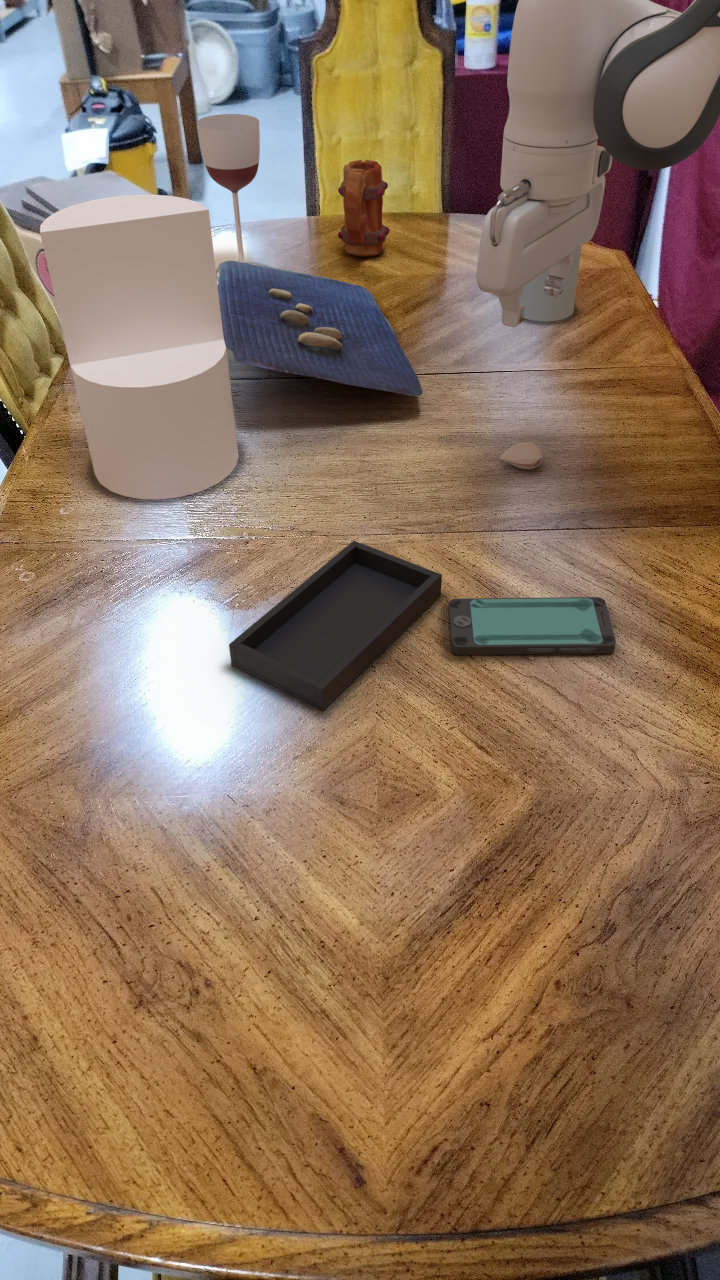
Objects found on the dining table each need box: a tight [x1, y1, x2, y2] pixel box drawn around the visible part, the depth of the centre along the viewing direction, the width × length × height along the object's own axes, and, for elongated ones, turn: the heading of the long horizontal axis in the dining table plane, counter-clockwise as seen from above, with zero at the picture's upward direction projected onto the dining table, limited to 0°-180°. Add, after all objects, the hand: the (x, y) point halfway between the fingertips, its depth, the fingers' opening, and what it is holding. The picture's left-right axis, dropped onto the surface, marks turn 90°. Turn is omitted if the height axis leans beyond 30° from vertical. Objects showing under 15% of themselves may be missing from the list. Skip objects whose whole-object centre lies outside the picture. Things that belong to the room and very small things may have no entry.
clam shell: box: [498, 442, 543, 470], centre depth 116 cm, size 4×5×2 cm
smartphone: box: [448, 596, 617, 656], centre depth 94 cm, size 7×1×15 cm
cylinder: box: [39, 194, 240, 500], centre depth 110 cm, size 17×17×28 cm
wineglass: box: [196, 113, 262, 279], centre depth 158 cm, size 9×10×23 cm
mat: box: [217, 260, 423, 397], centre depth 141 cm, size 45×27×12 cm, turn 10°
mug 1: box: [337, 159, 391, 257], centre depth 165 cm, size 15×8×15 cm, turn 168°
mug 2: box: [519, 246, 582, 323], centre depth 149 cm, size 14×9×10 cm
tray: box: [228, 540, 443, 711], centre depth 94 cm, size 11×20×3 cm, turn 145°
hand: (533, 308), depth 104 cm, fingers open, 8 cm apart
